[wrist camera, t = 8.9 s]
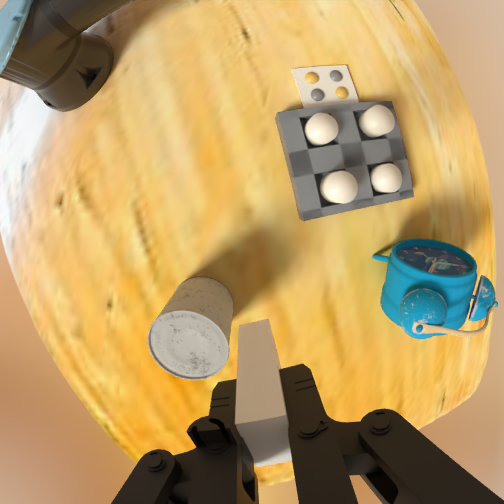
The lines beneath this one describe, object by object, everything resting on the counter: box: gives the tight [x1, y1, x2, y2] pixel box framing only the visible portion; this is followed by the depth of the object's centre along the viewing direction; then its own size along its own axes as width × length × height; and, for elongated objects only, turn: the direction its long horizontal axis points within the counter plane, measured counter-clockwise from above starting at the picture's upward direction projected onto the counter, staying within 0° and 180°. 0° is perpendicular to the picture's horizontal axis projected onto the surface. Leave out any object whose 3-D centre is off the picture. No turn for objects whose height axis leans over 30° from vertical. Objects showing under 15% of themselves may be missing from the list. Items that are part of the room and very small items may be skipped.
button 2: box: [320, 171, 358, 204], centre depth 33 cm, size 4×4×4 cm
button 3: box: [359, 105, 395, 138], centre depth 31 cm, size 4×4×4 cm
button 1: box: [303, 113, 338, 146], centre depth 33 cm, size 4×4×4 cm
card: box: [291, 65, 359, 108], centre depth 34 cm, size 7×9×1 cm
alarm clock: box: [373, 239, 498, 339], centre depth 30 cm, size 17×10×20 cm, turn 95°
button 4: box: [369, 163, 402, 192], centre depth 34 cm, size 4×4×4 cm
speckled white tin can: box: [148, 277, 234, 380], centre depth 35 cm, size 10×10×12 cm
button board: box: [275, 101, 414, 221], centre depth 35 cm, size 15×18×3 cm
